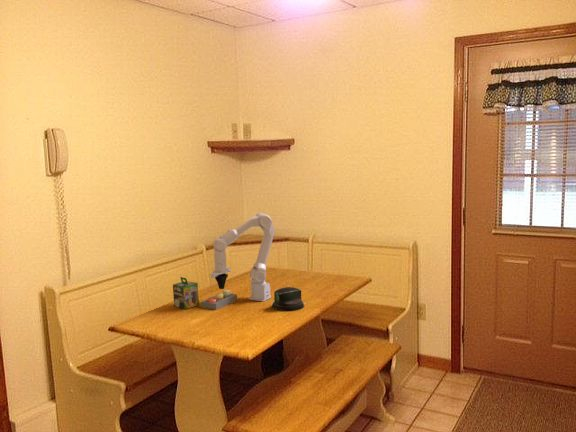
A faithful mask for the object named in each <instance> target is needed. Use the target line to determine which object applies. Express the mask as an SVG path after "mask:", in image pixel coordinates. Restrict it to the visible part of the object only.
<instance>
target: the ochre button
mask: <svg viewBox="0 0 576 432" xmlns="http://www.w3.org/2000/svg"><path fill="white" fill-rule="evenodd" d="M214 296H215V299H218V300H221V299H223V293H222V292H216V293H215V294H214Z"/></svg>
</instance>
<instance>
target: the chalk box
mask: <svg viewBox="0 0 576 432" xmlns="http://www.w3.org/2000/svg"><path fill="white" fill-rule="evenodd" d="M179 278H180V281H181V282H176V283H174V284H172V291H173V295H172V296H173V304H174V305H173V307H175V308H178V309H182V310H187V309H191V308H193V307H194V308H195V307H197V306H200V299H199V286H198V285H199V284H198V282H194V281H189V280H188V279H187V278H186V277H182V276H180V277H179Z"/></svg>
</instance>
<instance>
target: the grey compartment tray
mask: <svg viewBox="0 0 576 432" xmlns="http://www.w3.org/2000/svg"><path fill="white" fill-rule="evenodd" d="M211 298H214V299H215V295H214V296H213V295H212V296H211V297H208V298H206V299H205V300H204V299H203V300H202V301H200V306H201V308H202V309H208V310H214V311H217V310H220V309H221V308H223V307H225V306H227V305H230V304H232V303H234V302H237V301H238V294H236V293H230V296H228V297H226V296H223V299H221V300H218V299H216V302H215V303H209V302H208V299H211Z"/></svg>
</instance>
